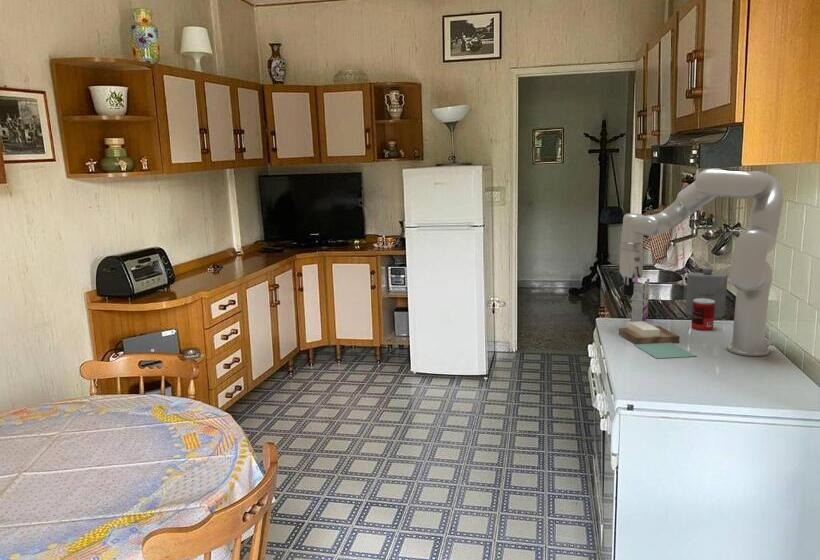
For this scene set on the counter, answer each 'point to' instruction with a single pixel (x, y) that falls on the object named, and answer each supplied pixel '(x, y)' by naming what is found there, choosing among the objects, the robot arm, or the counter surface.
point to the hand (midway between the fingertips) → (628, 294)
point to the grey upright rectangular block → (706, 290)
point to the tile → (644, 329)
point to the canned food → (703, 314)
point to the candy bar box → (640, 300)
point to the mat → (664, 350)
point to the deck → (638, 339)
